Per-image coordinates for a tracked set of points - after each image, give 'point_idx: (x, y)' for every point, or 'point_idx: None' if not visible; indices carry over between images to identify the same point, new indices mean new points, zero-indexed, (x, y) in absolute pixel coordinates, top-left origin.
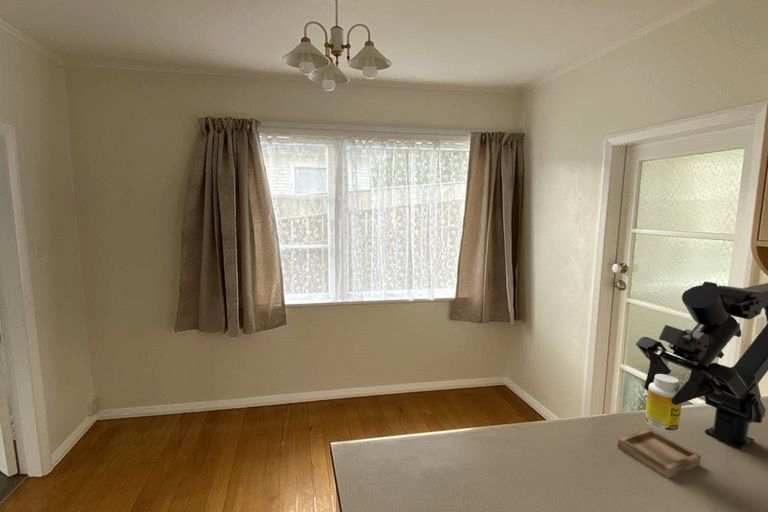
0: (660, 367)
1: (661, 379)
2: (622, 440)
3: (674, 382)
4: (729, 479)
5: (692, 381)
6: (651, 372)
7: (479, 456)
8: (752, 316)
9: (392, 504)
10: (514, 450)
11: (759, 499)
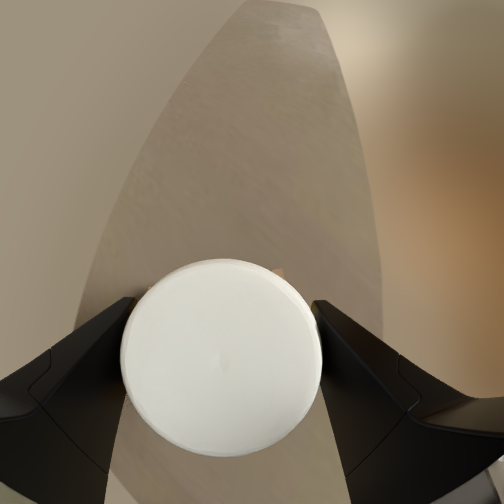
0: (391, 456)
1: (206, 275)
2: (272, 271)
3: (123, 338)
4: (123, 422)
5: (12, 397)
6: (380, 361)
7: (292, 61)
8: None
9: (238, 9)
10: (300, 94)
11: None
